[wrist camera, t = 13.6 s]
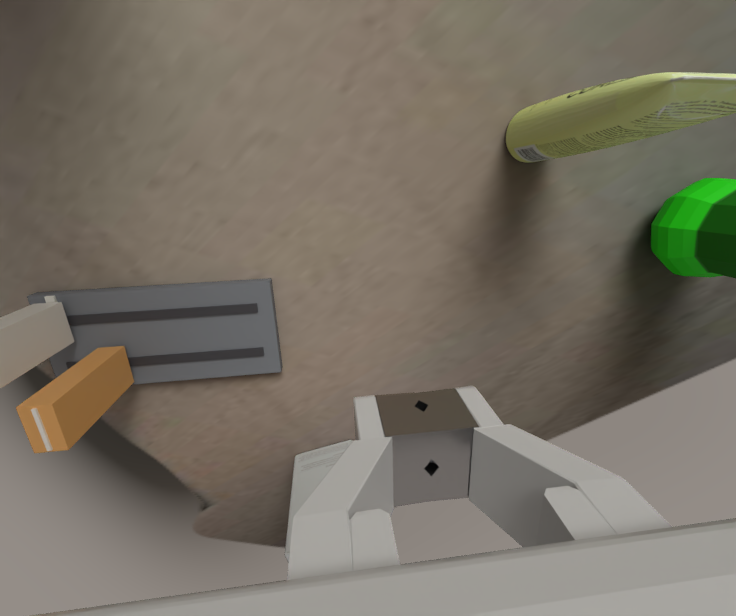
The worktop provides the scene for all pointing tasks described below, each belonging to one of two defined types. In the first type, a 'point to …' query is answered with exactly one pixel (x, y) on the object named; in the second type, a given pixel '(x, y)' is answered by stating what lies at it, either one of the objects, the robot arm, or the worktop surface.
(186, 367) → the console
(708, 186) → the plastic bottle
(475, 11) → the worktop surface
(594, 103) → the tube
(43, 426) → the fader orange
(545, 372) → the worktop surface
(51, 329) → the fader white
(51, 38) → the worktop surface
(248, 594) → the robot arm
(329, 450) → the supplement box
